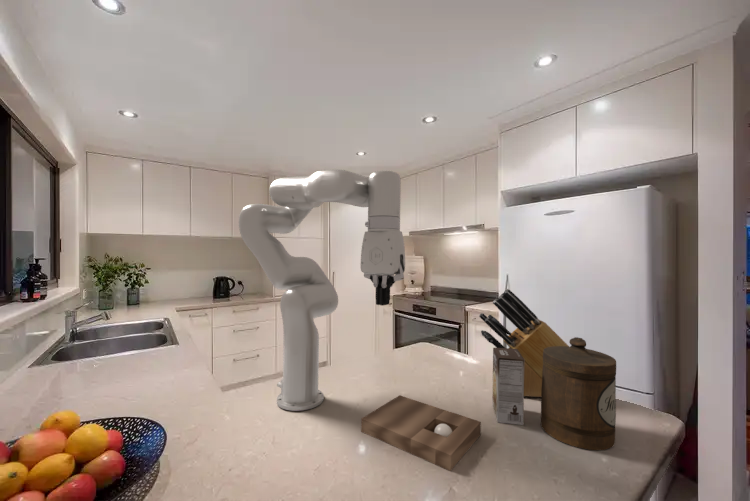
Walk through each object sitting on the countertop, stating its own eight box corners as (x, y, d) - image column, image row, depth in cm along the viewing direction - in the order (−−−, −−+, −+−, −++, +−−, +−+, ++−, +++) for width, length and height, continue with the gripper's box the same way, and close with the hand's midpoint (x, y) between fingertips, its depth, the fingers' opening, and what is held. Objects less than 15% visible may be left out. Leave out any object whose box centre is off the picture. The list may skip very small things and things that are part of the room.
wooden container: (625, 457, 68) (627, 350, 68) (545, 442, 73) (546, 342, 73) (604, 423, 82) (605, 333, 82) (537, 412, 87) (538, 328, 87)
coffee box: (491, 405, 90) (492, 346, 90) (516, 408, 89) (517, 348, 89) (496, 422, 81) (497, 357, 81) (524, 425, 80) (525, 359, 80)
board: (361, 431, 76) (361, 418, 76) (399, 406, 89) (399, 395, 89) (450, 471, 63) (450, 455, 63) (480, 435, 76) (480, 421, 76)
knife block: (476, 380, 108) (478, 285, 108) (593, 387, 104) (594, 288, 104) (484, 395, 96) (485, 289, 97) (614, 403, 93) (616, 292, 93)
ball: (428, 439, 72) (434, 422, 72) (436, 433, 75) (442, 417, 75) (444, 451, 69) (451, 433, 69) (451, 445, 73) (458, 428, 73)
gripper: (349, 225, 79) (347, 302, 79) (402, 223, 70) (400, 310, 70) (368, 227, 85) (367, 299, 85) (420, 225, 76) (418, 306, 76)
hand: (382, 304), depth 77 cm, fingers closed
